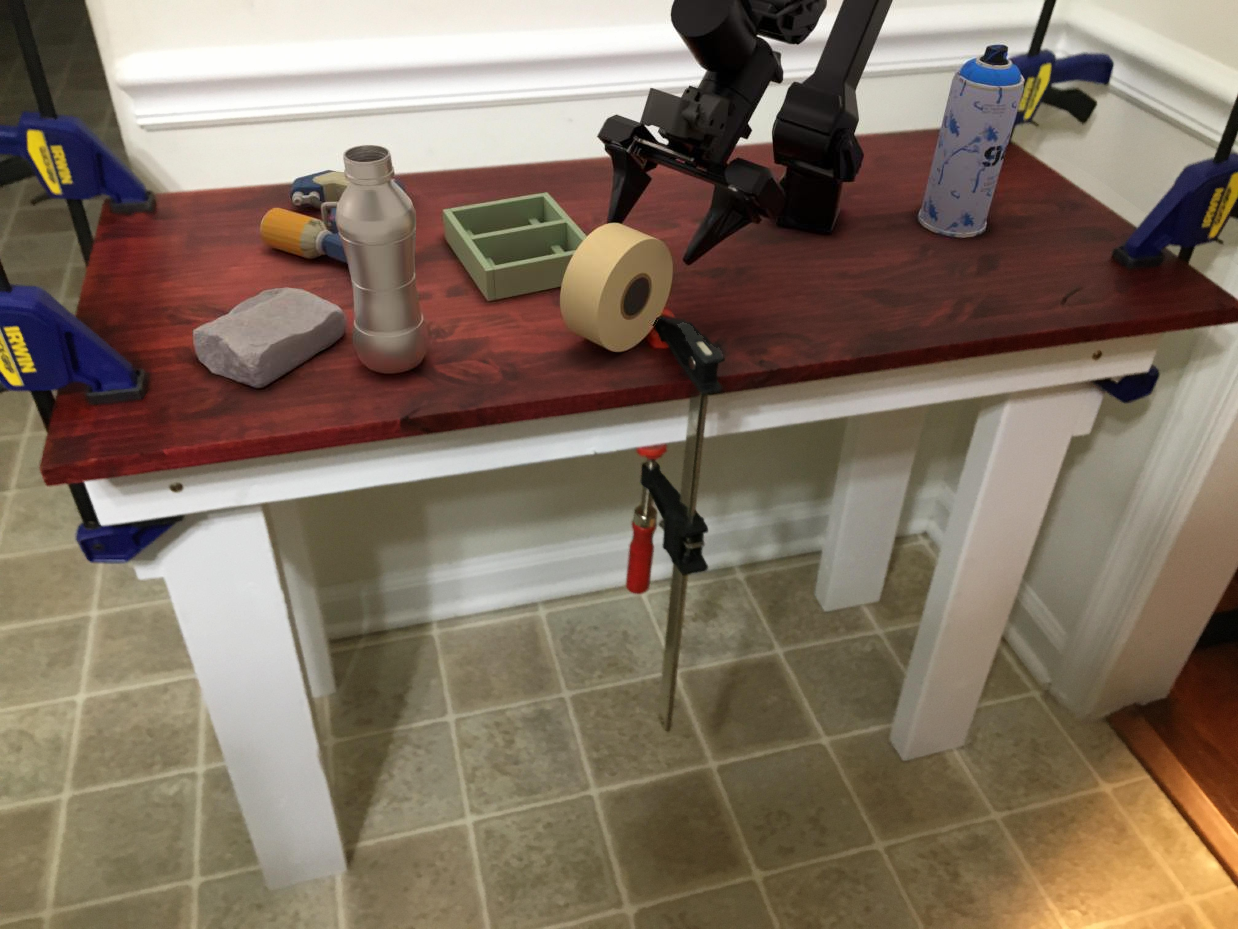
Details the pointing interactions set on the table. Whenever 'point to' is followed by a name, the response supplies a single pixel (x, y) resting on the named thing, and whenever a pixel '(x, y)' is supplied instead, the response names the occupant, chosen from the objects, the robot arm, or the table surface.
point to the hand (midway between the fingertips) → (646, 246)
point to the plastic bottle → (381, 262)
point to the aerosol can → (972, 144)
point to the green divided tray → (513, 243)
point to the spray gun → (309, 218)
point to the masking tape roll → (616, 286)
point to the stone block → (268, 335)
